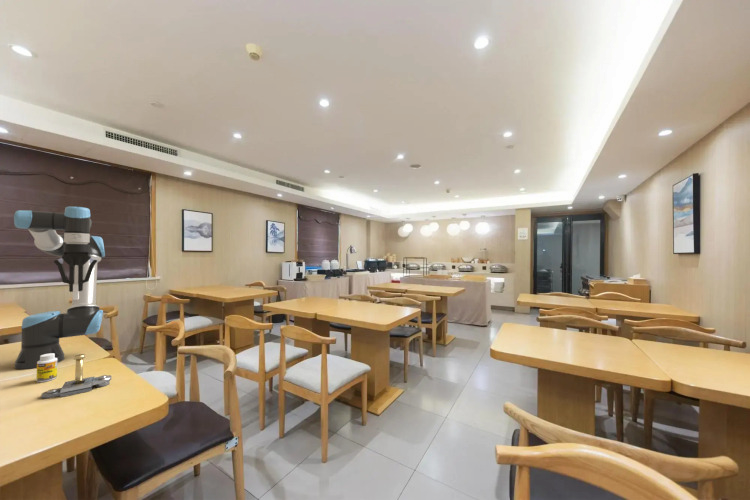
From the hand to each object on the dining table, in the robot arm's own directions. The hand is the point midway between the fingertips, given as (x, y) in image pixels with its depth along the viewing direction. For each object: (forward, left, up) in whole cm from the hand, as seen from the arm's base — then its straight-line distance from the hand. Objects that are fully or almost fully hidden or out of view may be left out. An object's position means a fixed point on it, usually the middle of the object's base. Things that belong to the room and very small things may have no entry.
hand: (75, 299), depth 121 cm
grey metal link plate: (+18, +4, -32) cm, 37 cm away
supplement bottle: (-2, -8, -33) cm, 34 cm away
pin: (+18, +4, -32) cm, 37 cm away
